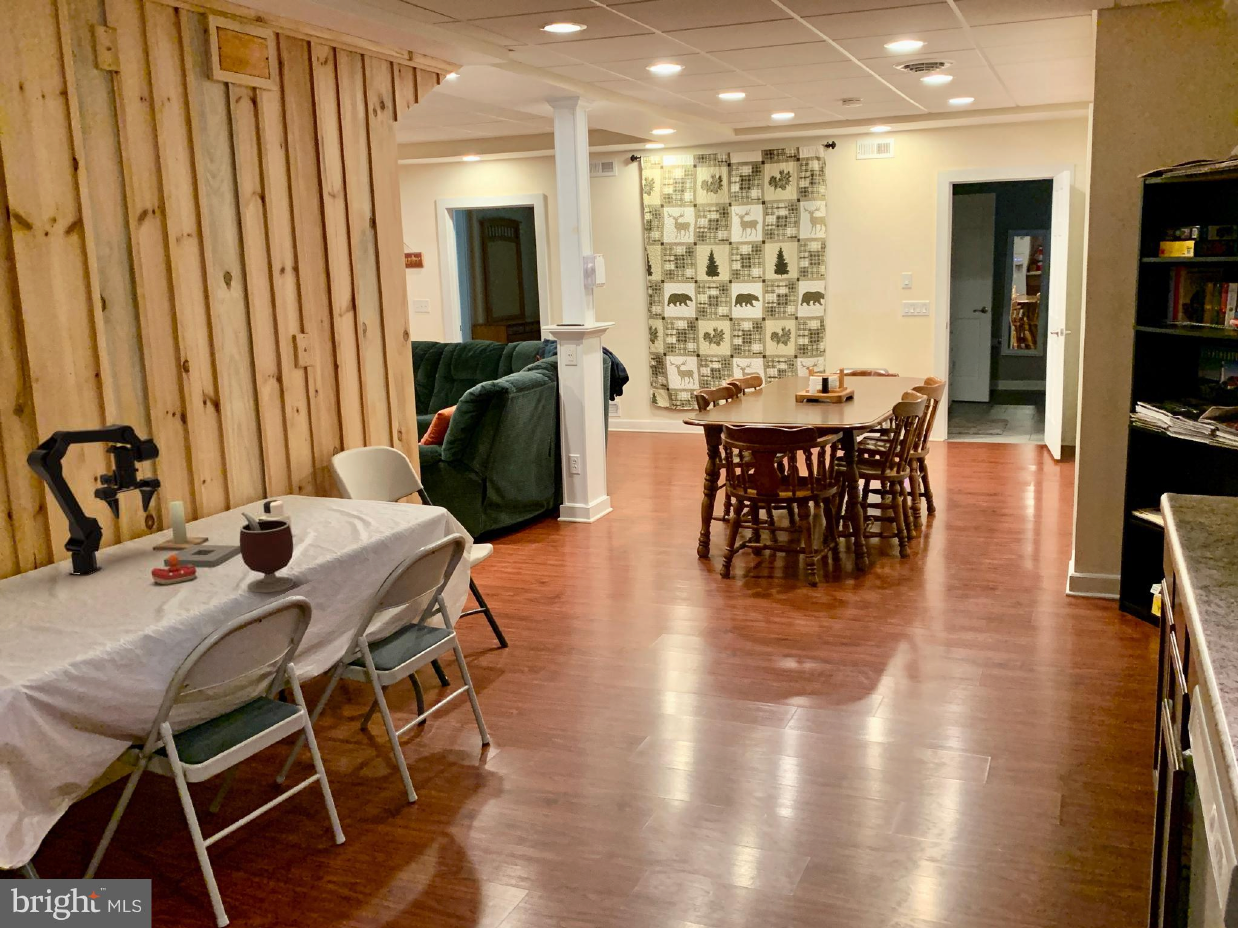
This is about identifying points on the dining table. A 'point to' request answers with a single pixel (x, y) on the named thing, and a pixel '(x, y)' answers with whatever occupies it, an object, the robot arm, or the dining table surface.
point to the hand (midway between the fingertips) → (131, 515)
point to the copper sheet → (179, 547)
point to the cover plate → (205, 555)
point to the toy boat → (173, 572)
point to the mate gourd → (266, 552)
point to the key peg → (178, 522)
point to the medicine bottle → (275, 512)
